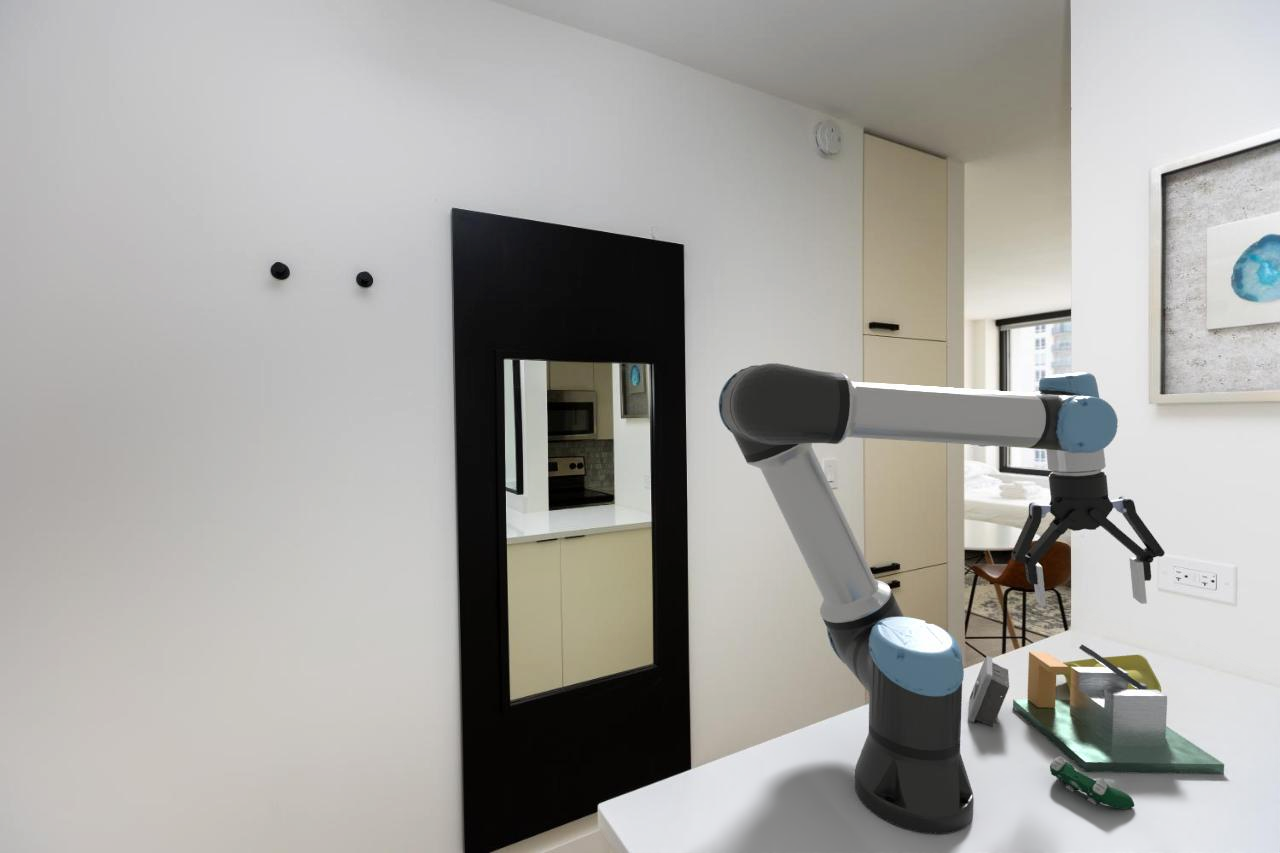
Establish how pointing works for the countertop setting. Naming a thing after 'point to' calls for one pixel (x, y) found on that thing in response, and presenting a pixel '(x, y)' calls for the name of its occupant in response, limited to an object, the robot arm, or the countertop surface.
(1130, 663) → the plastic component
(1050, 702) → the block
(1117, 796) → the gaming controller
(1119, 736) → the green mounting baseplate
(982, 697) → the electrical switch
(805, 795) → the countertop surface
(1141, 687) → the strap
